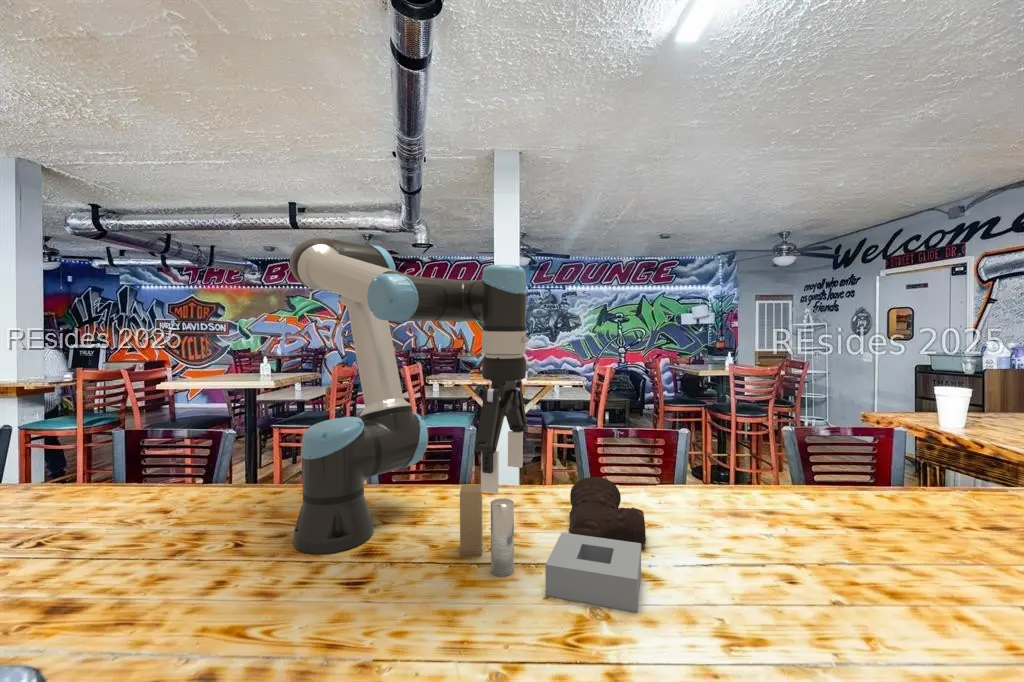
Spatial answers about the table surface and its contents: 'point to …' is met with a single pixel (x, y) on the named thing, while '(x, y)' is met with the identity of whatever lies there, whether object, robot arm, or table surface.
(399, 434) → the robot arm
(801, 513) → the table surface
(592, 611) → the table surface
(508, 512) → the cylinder
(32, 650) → the table surface
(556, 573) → the socket block
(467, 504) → the square bit
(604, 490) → the pipe
